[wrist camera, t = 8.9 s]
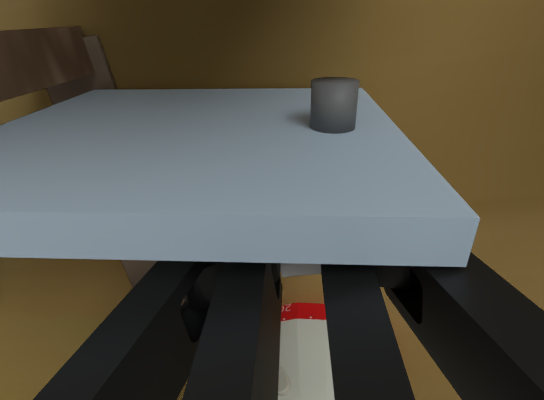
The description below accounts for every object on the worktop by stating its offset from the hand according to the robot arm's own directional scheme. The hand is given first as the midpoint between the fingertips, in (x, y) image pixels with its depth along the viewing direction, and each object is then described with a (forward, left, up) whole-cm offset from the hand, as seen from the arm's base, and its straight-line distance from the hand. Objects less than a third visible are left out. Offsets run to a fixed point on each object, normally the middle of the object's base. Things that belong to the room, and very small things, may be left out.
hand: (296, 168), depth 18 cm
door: (+4, +3, -4) cm, 7 cm away
